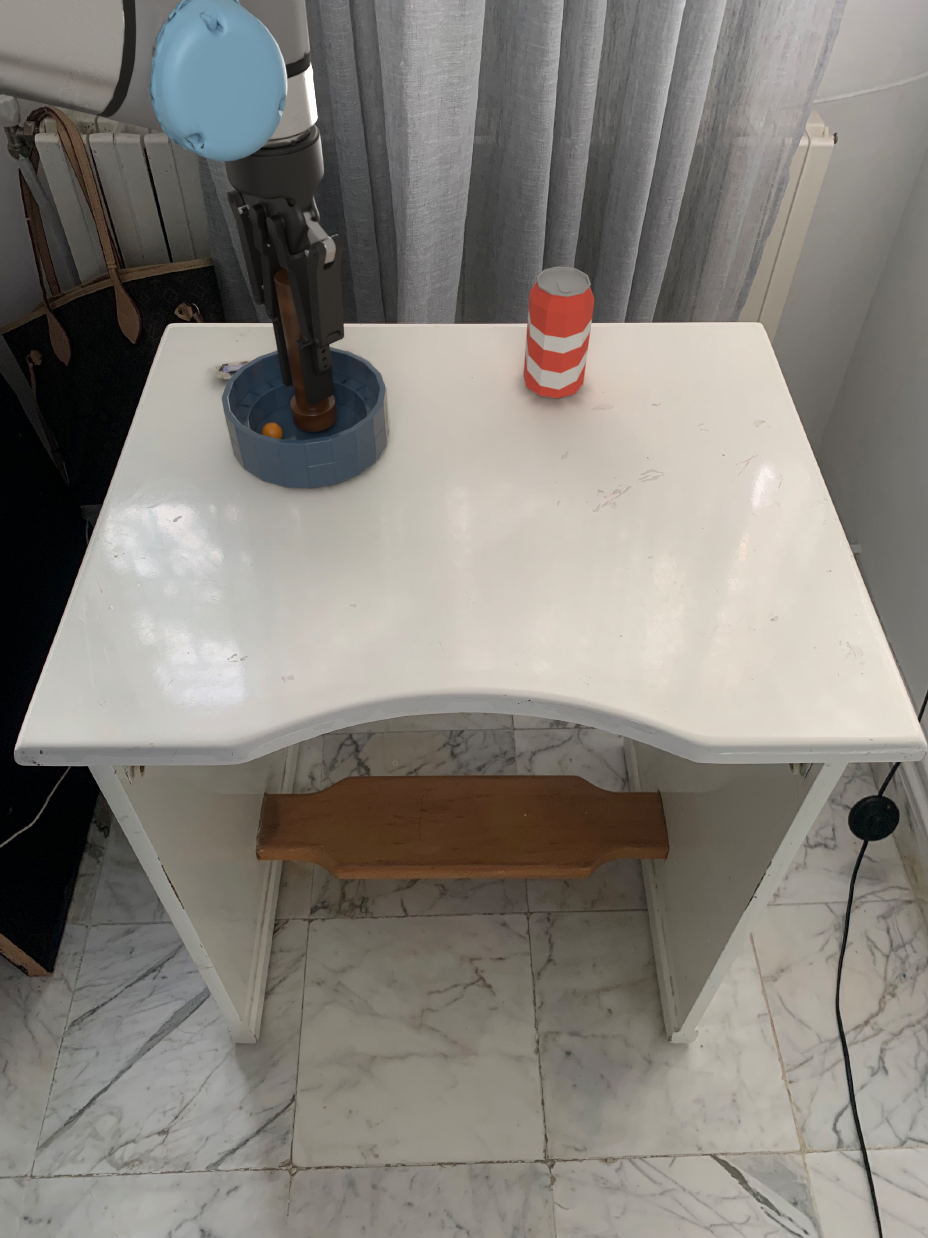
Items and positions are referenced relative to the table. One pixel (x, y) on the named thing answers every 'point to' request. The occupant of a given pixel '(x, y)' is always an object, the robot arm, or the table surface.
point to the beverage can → (558, 332)
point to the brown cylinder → (302, 412)
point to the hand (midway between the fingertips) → (308, 388)
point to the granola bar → (229, 369)
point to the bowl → (301, 453)
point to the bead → (272, 430)
